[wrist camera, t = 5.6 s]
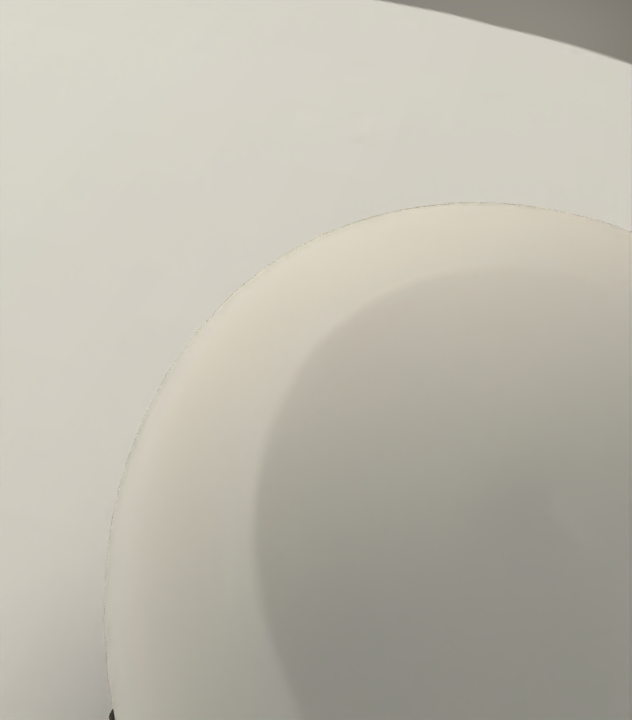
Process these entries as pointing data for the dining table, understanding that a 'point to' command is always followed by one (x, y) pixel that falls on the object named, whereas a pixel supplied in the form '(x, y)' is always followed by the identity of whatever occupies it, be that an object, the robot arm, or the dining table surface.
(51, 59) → the dining table surface
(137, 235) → the dining table surface
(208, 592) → the sprinkles bottle
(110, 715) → the robot arm
